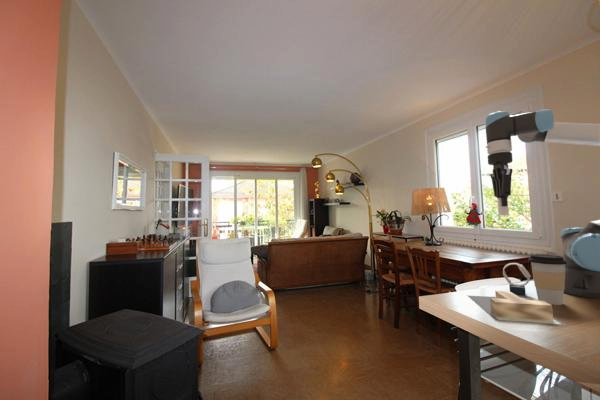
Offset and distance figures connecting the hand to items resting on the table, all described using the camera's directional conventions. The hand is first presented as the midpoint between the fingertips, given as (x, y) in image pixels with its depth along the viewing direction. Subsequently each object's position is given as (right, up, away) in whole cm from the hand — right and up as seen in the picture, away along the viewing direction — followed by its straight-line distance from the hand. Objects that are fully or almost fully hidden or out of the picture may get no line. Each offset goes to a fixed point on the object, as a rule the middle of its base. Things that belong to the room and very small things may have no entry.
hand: (503, 215), depth 102 cm
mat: (-13, -27, -19) cm, 36 cm away
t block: (-14, -27, -22) cm, 37 cm away
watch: (+2, -28, -4) cm, 29 cm away
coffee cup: (+4, -28, -14) cm, 31 cm away
